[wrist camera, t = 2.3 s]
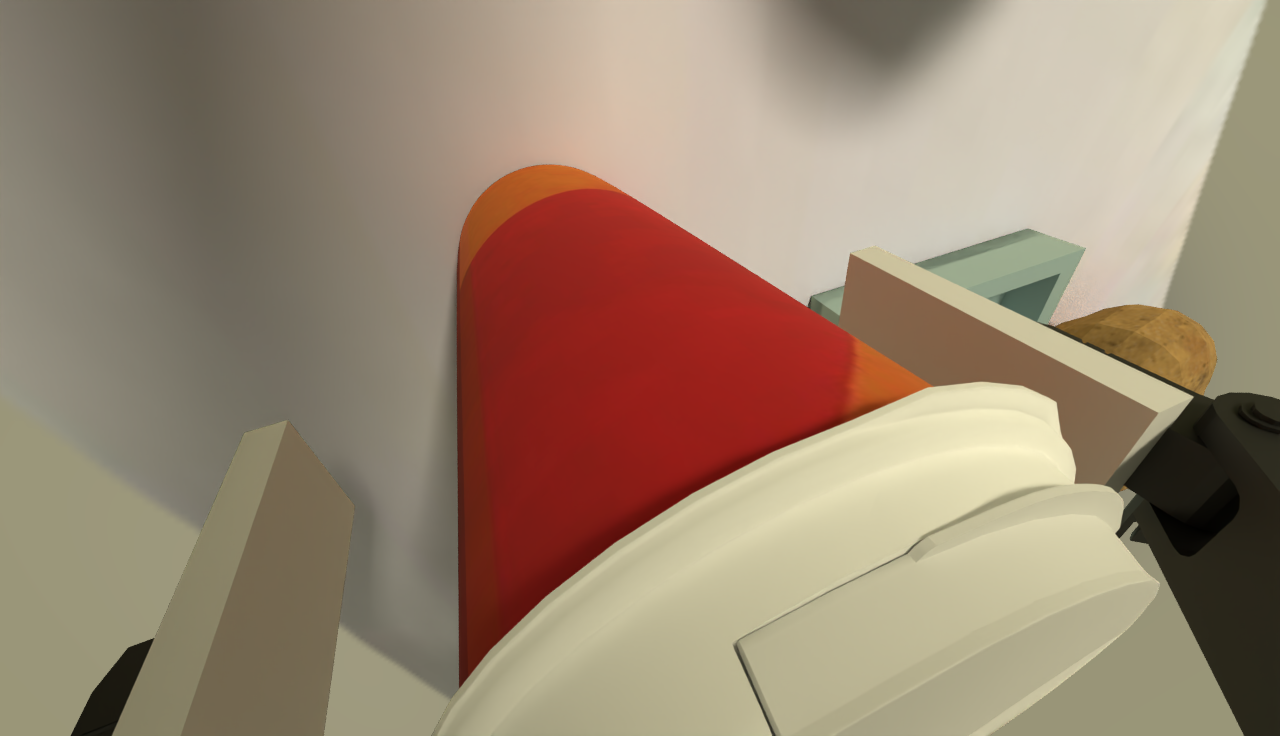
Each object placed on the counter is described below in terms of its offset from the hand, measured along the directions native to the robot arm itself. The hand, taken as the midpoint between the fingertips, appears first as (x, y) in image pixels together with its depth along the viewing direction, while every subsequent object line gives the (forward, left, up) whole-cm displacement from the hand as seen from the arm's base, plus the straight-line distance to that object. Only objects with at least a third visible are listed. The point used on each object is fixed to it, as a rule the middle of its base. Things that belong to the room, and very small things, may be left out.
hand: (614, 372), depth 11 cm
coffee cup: (0, 0, -7) cm, 7 cm away
